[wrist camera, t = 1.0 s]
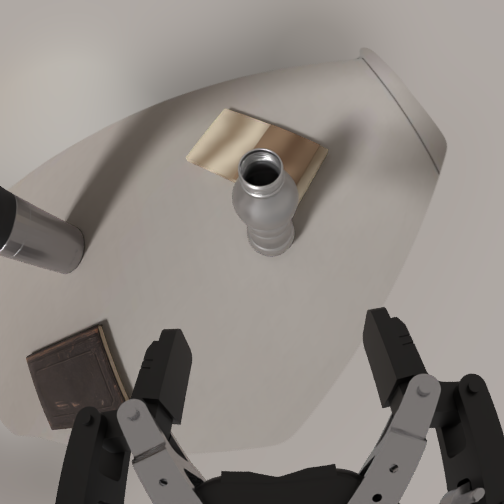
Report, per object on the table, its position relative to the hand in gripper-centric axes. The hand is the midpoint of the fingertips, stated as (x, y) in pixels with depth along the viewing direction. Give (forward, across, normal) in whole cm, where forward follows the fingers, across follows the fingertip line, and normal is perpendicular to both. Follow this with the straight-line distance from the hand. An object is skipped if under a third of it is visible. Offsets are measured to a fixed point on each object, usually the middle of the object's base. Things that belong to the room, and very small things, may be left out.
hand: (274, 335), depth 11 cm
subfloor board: (+38, +1, 0) cm, 38 cm away
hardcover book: (+12, +37, +27) cm, 48 cm away
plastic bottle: (+28, 0, +11) cm, 30 cm away
